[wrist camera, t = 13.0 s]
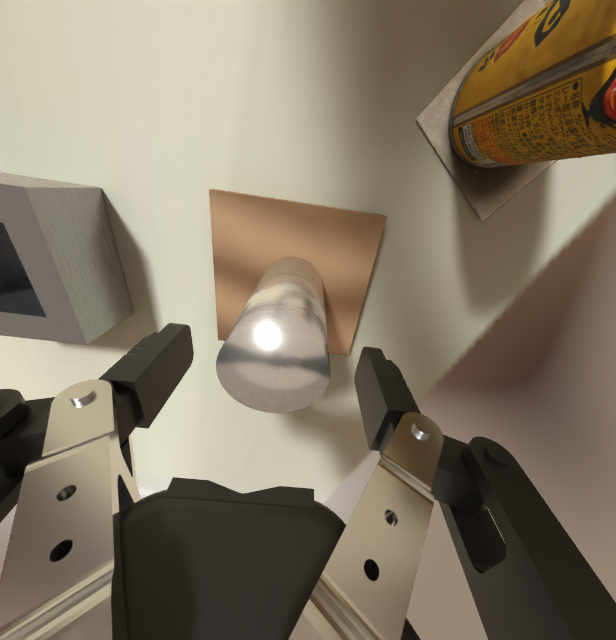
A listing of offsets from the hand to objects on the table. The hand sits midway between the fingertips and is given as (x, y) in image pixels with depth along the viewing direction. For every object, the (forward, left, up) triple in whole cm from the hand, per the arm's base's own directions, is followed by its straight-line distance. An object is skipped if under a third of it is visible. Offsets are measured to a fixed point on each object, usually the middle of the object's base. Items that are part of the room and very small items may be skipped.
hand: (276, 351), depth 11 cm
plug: (0, 0, -9) cm, 9 cm away
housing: (0, -19, -10) cm, 21 cm away
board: (0, 0, -10) cm, 10 cm away
